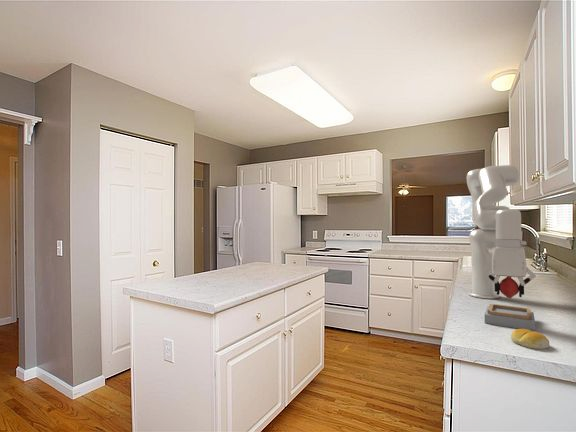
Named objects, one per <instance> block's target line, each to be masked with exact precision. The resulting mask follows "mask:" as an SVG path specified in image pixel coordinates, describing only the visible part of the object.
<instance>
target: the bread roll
mask: <svg viewBox="0 0 576 432" xmlns="http://www.w3.org/2000/svg"><path fill="white" fill-rule="evenodd" d="M510 338H511V342H512V343H515V344H516V345H520V346H522V347H525V348H528V349H533V350H545V349H549V347H550V340H549V339H548V338H547V337H546V336H545V335H544V334H543V333H541V332H537V331H532V330H528V329H519V328H516V329H514V330H513V331H512V332H511V334H510Z"/></svg>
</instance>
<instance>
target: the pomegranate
mask: <svg viewBox="0 0 576 432" xmlns="http://www.w3.org/2000/svg"><path fill="white" fill-rule="evenodd" d="M499 283H500V285H499V289H500V293H501V294H502V295H503V296H505V297H506V298H508V299H512V298H513V297H514V296H516V295H517V294H519V284H518V283H517V281H516V280H515V279H513V278H512V277H508V276H505V278H503V279H502V280H501V281H499Z"/></svg>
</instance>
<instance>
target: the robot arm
mask: <svg viewBox="0 0 576 432" xmlns="http://www.w3.org/2000/svg"><path fill="white" fill-rule="evenodd" d="M520 176H521V175H520V171H519V168H517V166H515V165H512V164H506V165H489V166H486V167H482V168H476V169H472V170H470V171H469V172H467V174H466V185H467V188H468V191H469V193H470V195H471V216H472V217H471V218H472V222H473V224H474V225H475V226H477V227H478V229H473V230H471V231H470V232H469V235H468V240H469V244H470V245H469V246H470V254H471V290H469V291H468V293H467V294H468V295H469V296H471V297H474V298H481V299H489V300H490V299H491V300H493V299H494V300H495V299H499V298H500V293H501V291H500V289H499V285H500V281H499V279H500V277H507V276H508V277H511V278H512V277H513V278H517V279H518V282H519V284H518V286H519V292H518V296H519V298H522V297H523V296H524V295H525V286H526V285H527V284H528V283H530V282H531V281H532V280H534V279H535V278H536V277H537V275H536V273H534V272H533V271H532V270H531V269H529V268H528V266H527V257H526V252H525V249H524V248H522V247H524V246H527V241H525V240H522V213H521V211H520V210H519V209H511V208H510V207H508V206H507V205H506V206H505V205H494V204H497V203H499V202H501V201H503V200H504V199H506V198H507V196H508V188H507V187H510V186H511V187H512V186H515V185H518V183H519V180H520V178H521V177H520ZM489 250H492V253H491V252H490V251H489ZM527 274H528V275H529V276H528V277H526V276H527ZM525 277H526V278H525Z"/></svg>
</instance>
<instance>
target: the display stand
mask: <svg viewBox="0 0 576 432" xmlns="http://www.w3.org/2000/svg"><path fill="white" fill-rule="evenodd" d="M484 324H488V325H493V326H494V325H495V326H500V327H508V328H515V329H528V330H530V331H532V332H536V321H535V313H534V311H532V309H531V308H529V307H522V306H514V305H512V306H511V305H506V304H497V303H490V304H489V305H487V307H486V309H485V312H484Z"/></svg>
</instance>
